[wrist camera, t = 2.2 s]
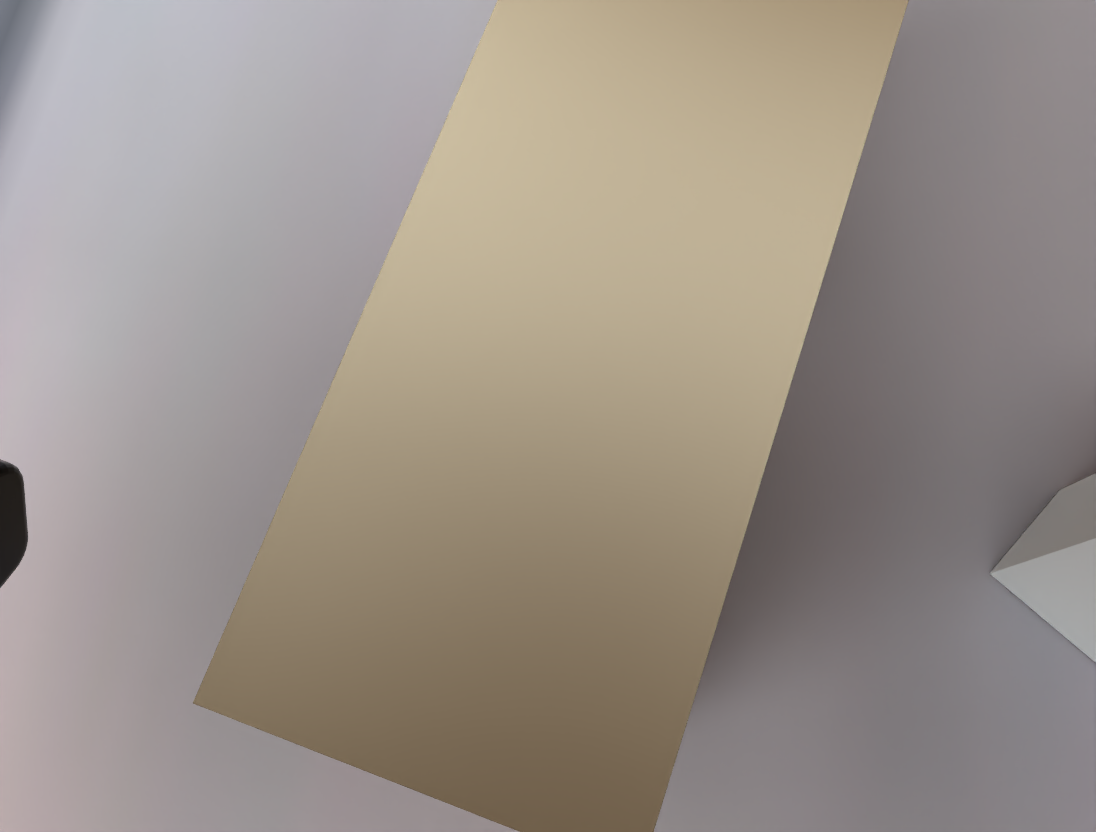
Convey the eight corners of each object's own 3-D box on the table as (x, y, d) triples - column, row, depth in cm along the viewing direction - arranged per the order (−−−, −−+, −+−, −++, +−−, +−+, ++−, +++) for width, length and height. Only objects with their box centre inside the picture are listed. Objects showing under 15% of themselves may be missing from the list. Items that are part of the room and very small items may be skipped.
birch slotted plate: (607, 757, 17) (639, 879, 5) (466, 705, 17) (194, 704, 5) (798, 168, 19) (1099, -620, 8) (675, 133, 20) (789, -671, 8)
